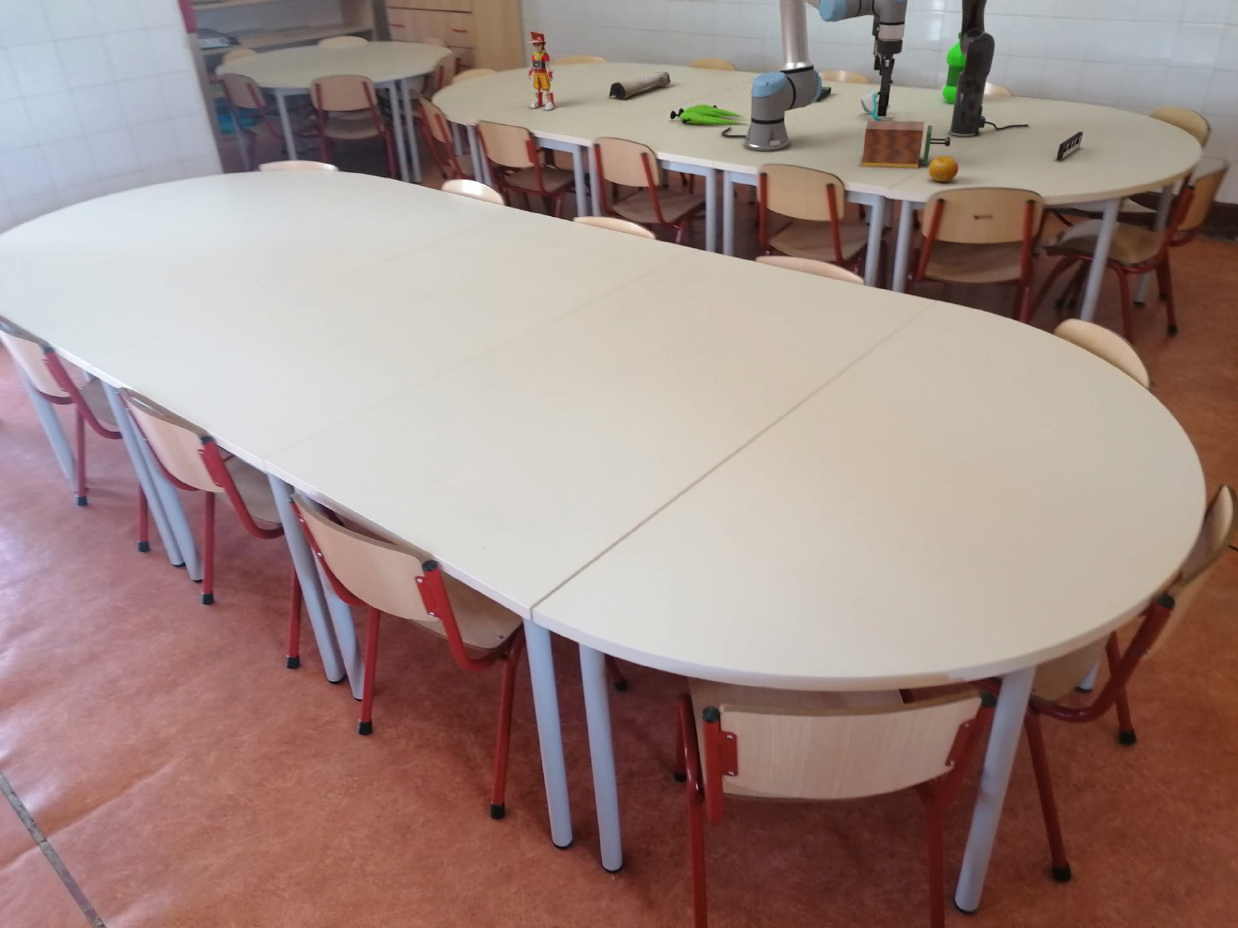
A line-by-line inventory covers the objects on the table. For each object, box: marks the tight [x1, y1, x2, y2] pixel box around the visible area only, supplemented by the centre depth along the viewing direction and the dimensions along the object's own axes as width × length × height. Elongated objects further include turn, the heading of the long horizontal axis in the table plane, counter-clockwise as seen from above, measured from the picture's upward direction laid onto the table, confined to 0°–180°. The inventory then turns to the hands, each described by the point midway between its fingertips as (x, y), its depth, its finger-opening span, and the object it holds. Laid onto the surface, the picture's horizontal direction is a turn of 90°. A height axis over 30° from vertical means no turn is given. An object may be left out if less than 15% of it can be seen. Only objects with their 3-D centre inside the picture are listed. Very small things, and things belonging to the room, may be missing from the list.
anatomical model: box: [860, 90, 895, 121], centre depth 340 cm, size 15×10×10 cm
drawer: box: [919, 125, 951, 165], centre depth 291 cm, size 23×9×10 cm, turn 73°
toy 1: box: [527, 31, 556, 111], centre depth 374 cm, size 12×9×30 cm
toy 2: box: [669, 104, 746, 125], centre depth 349 cm, size 28×5×30 cm
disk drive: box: [815, 86, 832, 102], centre depth 372 cm, size 10×3×15 cm
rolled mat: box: [608, 71, 672, 101], centre depth 395 cm, size 30×9×10 cm
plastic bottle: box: [942, 31, 966, 104], centre depth 348 cm, size 10×10×25 cm
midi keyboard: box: [1056, 131, 1084, 161], centre depth 291 cm, size 18×1×5 cm, turn 138°
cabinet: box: [861, 120, 925, 169], centre depth 293 cm, size 18×10×12 cm, turn 73°
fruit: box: [928, 155, 959, 183], centre depth 276 cm, size 8×8×8 cm
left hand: (882, 111), depth 288 cm, fingers open, 13 cm apart
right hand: (879, 73), depth 300 cm, fingers open, 8 cm apart
